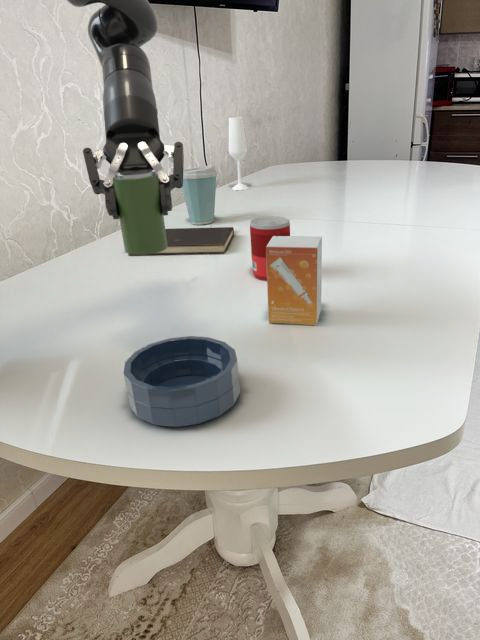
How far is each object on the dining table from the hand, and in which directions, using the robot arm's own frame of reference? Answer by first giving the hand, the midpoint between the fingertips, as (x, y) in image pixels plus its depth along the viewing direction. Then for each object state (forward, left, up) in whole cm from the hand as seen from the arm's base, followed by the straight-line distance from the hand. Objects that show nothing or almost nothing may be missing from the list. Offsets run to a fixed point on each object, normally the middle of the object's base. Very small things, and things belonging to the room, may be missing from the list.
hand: (140, 213), depth 71 cm
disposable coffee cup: (+11, +77, -20) cm, 81 cm away
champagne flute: (+28, +124, -20) cm, 129 cm away
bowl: (+3, -16, -20) cm, 26 cm away
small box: (+22, +5, -20) cm, 31 cm away
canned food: (+22, +27, -20) cm, 41 cm away
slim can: (0, +2, -5) cm, 6 cm away
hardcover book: (+5, +55, -20) cm, 59 cm away
